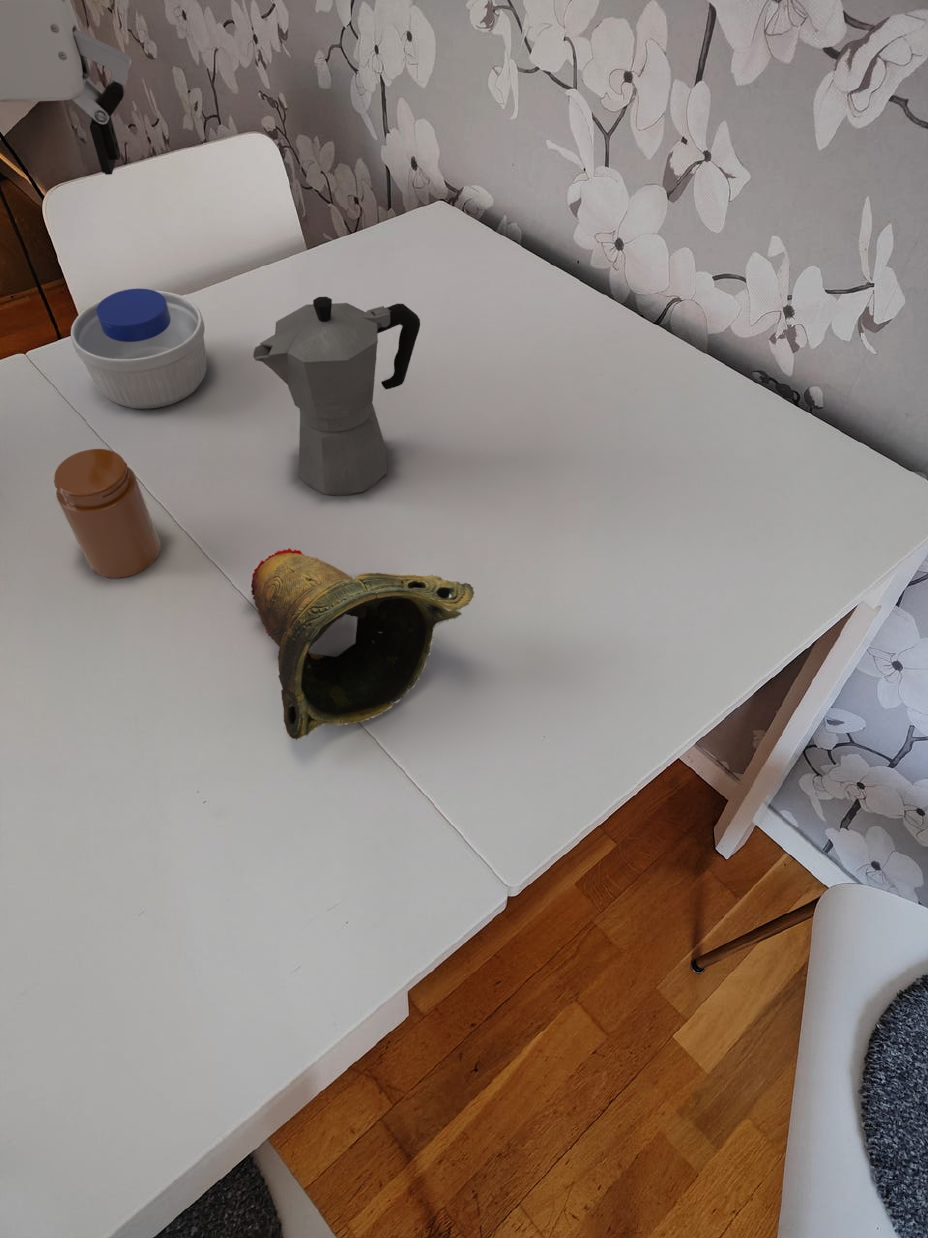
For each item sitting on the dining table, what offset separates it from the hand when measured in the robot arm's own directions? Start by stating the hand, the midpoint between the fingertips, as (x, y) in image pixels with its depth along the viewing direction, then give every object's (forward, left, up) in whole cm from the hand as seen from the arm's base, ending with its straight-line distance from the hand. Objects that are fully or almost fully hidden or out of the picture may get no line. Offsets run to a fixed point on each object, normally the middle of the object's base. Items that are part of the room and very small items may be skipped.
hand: (52, 169), depth 75 cm
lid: (+2, +3, -15) cm, 15 cm away
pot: (+22, -38, -24) cm, 50 cm away
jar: (+2, -23, -24) cm, 33 cm away
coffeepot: (+23, -13, -24) cm, 36 cm away
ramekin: (+2, +3, -24) cm, 24 cm away
